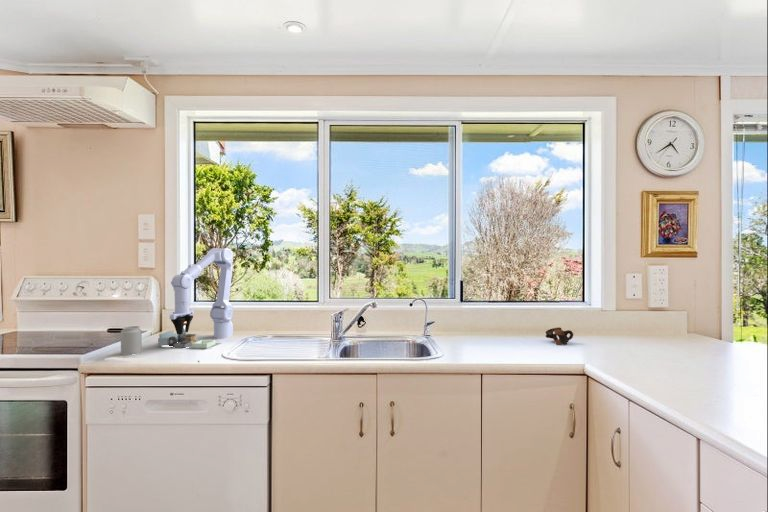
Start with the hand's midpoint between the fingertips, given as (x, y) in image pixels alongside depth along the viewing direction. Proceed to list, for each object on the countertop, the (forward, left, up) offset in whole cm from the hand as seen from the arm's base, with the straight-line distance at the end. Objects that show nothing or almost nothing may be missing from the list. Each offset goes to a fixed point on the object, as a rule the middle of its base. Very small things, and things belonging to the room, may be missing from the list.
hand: (182, 333), depth 195 cm
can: (+14, -14, -7) cm, 21 cm away
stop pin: (0, 0, -3) cm, 3 cm away
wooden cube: (-6, -1, -6) cm, 9 cm away
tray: (-1, +10, -6) cm, 11 cm away
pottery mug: (-37, +165, -7) cm, 169 cm away
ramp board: (-3, +1, -7) cm, 8 cm away
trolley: (-3, -6, -6) cm, 9 cm away
